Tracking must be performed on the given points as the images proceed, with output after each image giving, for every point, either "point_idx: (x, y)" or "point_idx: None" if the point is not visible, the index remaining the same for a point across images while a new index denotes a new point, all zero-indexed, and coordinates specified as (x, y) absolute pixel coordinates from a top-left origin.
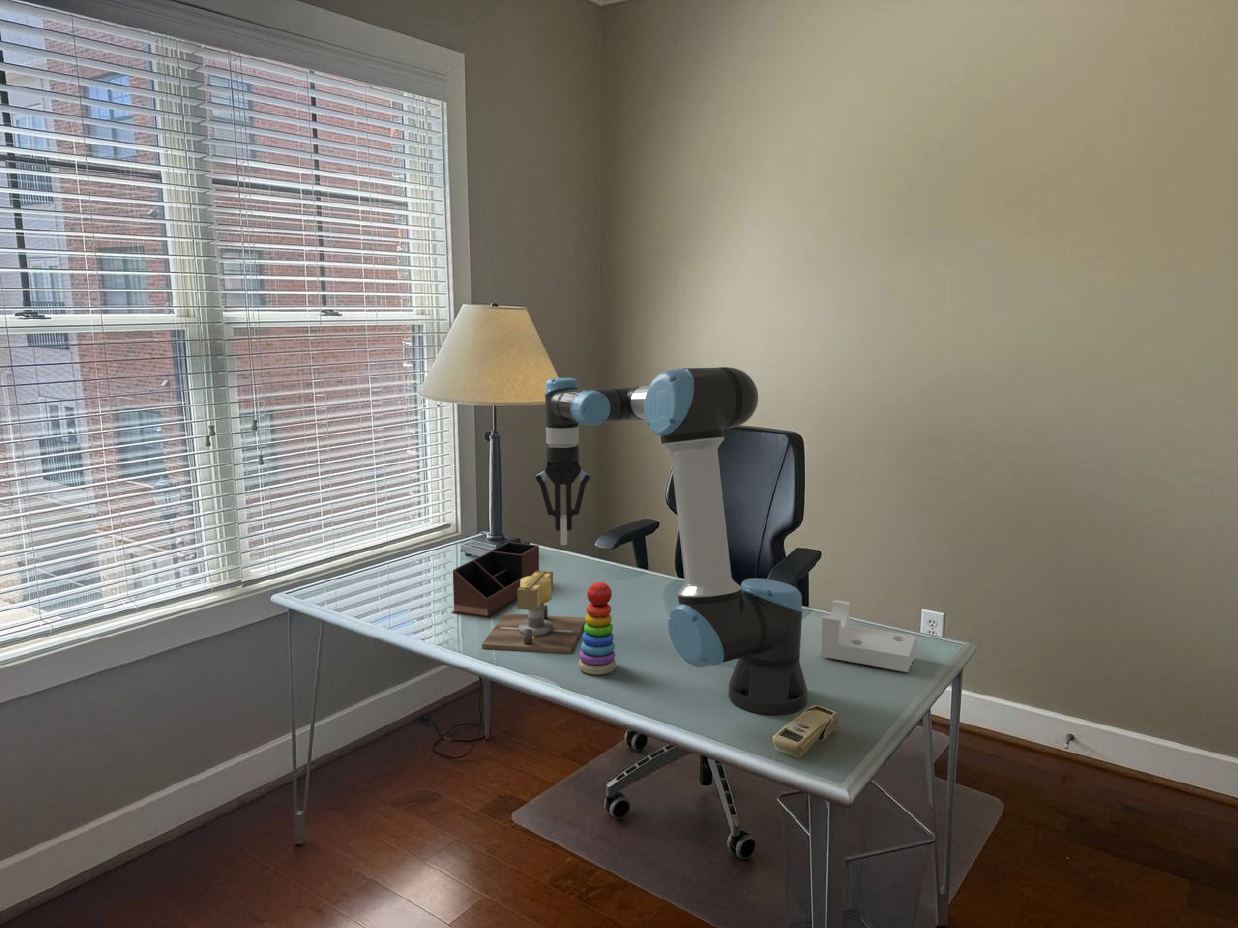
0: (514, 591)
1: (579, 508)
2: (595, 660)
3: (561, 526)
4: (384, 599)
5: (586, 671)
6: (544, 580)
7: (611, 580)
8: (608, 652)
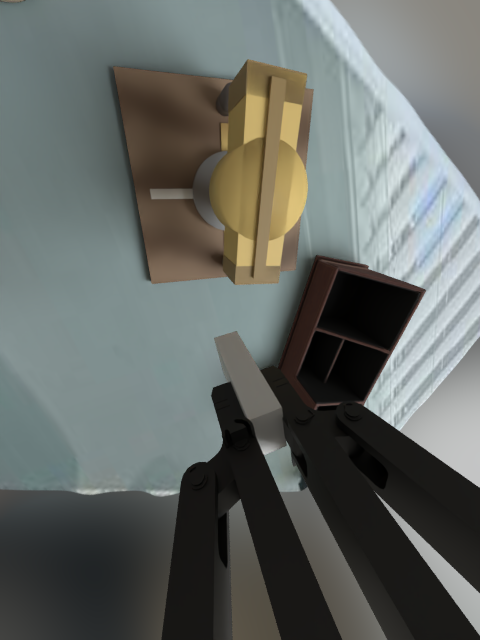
0: (296, 345)
1: (181, 517)
2: None
3: (258, 378)
4: (442, 293)
5: None
6: (240, 196)
7: (173, 448)
8: None
